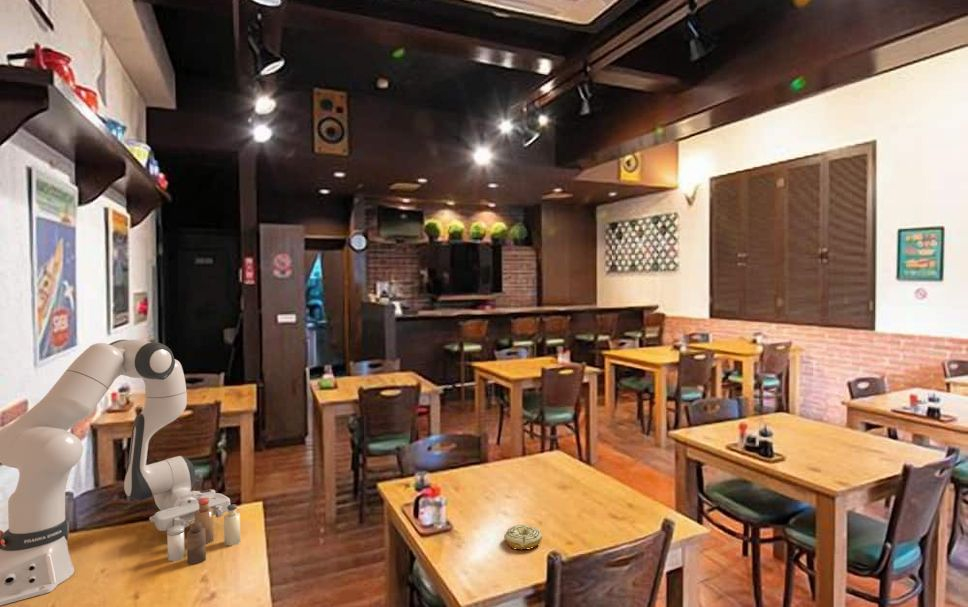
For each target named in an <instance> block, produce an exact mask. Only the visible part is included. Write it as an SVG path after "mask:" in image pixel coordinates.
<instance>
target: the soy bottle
mask: <svg viewBox="0 0 968 607" xmlns="http://www.w3.org/2000/svg"><path fill="white" fill-rule="evenodd" d="M208 503H209V498H201V499H199V500H198V504H199V509H198V510H196V511H195V521H194V522H200V523H201V524H202V528H205V536H206V545H209V544H211V543H212V541H213V542H214V539H215V537H214V535H215V534H214V533H215V532H214V516H213V508H209V504H208ZM210 542H211V543H210ZM208 543H209V544H208Z"/></svg>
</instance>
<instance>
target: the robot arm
mask: <svg viewBox="0 0 968 607" xmlns="http://www.w3.org/2000/svg"><path fill="white" fill-rule="evenodd" d="M120 376H126V377H130V378H135V379H142V380H143V382H144V386H145V387H144V391H145V402H144V405H143V408H142V410H141V412H140V413H139V414H138V415H136V416H135V418H134V421H133V425H132V428H131V436H130V444H129V445H130V446H129V454H128V461H127V468H126V472H125V477H124V484H123V488H124V492H125V495H126V497H127V498H129V499H131V500H133V501H137V502H143V501H146V500H149V499H150V498H153V499H154V503H155V505H156V506H157V508H158V509H159V510H158V511H157V512H156V513H154V514H153V515H152V516H150V517H149V522H151V523H154V527H155V528H156V529H157V531H160V532H164V531H167V529H168V528H170V527H173V526H178V525H182V526H184V529H185V528H188V527H189V528H190V523H194V522H195V511H196V510H198V509H199V504H198V500H199V499H201V498H209V503H208V504H209V508H213V517H214V516H215V517H216V518H218V519H219V518H221V517H224V513H226V512H228V509H227V506H228V505H231V499H230V497H228V496H226V495H224V494H223V493H219V492H218V493H217V492H216V490H215V489H205V490H193V487H194V485H195V483H196V471H195V467H194V464H193V463H192V462H191V461H190V460H189V459H188V458H186V457H185V456H183V455H178V456H174V457H170V458H166V459H164V460H161V461H158V462H152V463H150V464H147V458H148V449H149V442H150V440H151V438H152V437H153V436H154V434H156V433H157V432H159V431H160V430H161V429H162V428H164V427H166V426H168V424H171V423H173V422H174V421H175V420H176V419H178V418H180V416H181V415H182V414H183V413H184V411H185V410H186V408H187V403H188V394H187V385H186V384H187V383H186V379H185V378H186V377H185V373H184V369H183V366H182V364H181V362H180V361H179V360H177V359H175V357H174V354H173V352H172V350H171V348H169V347H168V346H167V345H166V344H164V343H160V342H156V341H148V340H143V339H119V340H115V341H112V342H111V343H102V342H98V343H94V344H93V343H92V345H90V346H88V347H87V348H86V349H85V350H84V351H83V352H81V354H80V355H79V356H78V357H76V359H74V361H73V362H72V363H71V364H70V365H69V366H68V367H67V369H66V370H65V372H63V374H62V375H61V376H60V377H59V379H58V380H57V381H56V383H54V385H53V386H52V387H51V389H50V390H49V391H48V392H47V393H46V394H45V396H44V397H43V398H42V399H40V400H39V402H37V403H36V404H34V405H33V407H31V408H30V409H29V410H28V411H27V412H26V413H25V414H24V415H22V416H21V417H20V418H19V419H17V420H16V421H14V422H12V424H9V425H7V426H6V427H4V428H1V429H0V463H1V464H2V465H3V466H6V467H9V468H13V469H18V472H19V475H18V482H17V485H16V488H15V491H14V492H13V493H11V495H10V496H9V498H8V500H7V506H8V507H7V510H8V512H7V513H8V514H7V515H8V517H7V518H8V529H6V530H5V531H3V530H0V606H4V605H7V604H11V603H15V602H19V601H23V600H26V599H30V598H33V597H38V596H41V595H44V594H48V593H50V592H52V591H53V590H54V589H55V588H56V587H57V586H58V585H60V584H61V583H63V582H64V581H66V580H67V579H69V578H70V577H71V576H72V575H73V574H74V573H75V567H74V565H73V562H72V559H71V555H70V552H69V546H68V539H69V521H68V518H67V516H66V489H67V483H68V479H69V476H70V474H71V471H72V469H73V467H74V466H76V465H77V463H78V462H79V461H80V460H81V457H82V455H83V449H84V448H83V446H84V445H83V443H82V441H81V440H80V438H79V437H78V436H76V435H75V434H73V433H72V432H70V431H69V430H70V429H71V428H72V427H73V426H75V425H77V423H79V422H81V421H83V420H85V419H87V418H88V417H89V416H91V414H92V413H93V412H94V410H95V409H96V407H97V406H98V404H100V402H101V400H102V399H103V398H104V396H105V395H106V393H107V392H108V390H109V389H110V388H111V386H112V385H113V384H114V382H115V380H117V378H119V377H120Z"/></svg>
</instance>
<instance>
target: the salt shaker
mask: <svg viewBox="0 0 968 607" xmlns="http://www.w3.org/2000/svg"><path fill="white" fill-rule="evenodd" d="M166 536H167V539H166V540H167V543H166V544H167V561H169V562H176V561H180V560H182V559H184V558H185V528H184V526H182V525H178V526H173V527H170V528H168V529H167V530H166Z"/></svg>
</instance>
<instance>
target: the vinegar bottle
mask: <svg viewBox="0 0 968 607" xmlns="http://www.w3.org/2000/svg"><path fill="white" fill-rule="evenodd" d="M237 507H238V506H237V504H235V503H232V504H231V503H230V505H228V506H227V509H228V511H227V512H228V513H227V514H225V515H223V522H224V523H223V531H224V532H223V533H224V534H223V535H224V537H223V538H224V540H223V541H224V546H226V545H228V546H227V547H232V546H231V545H234V546H236V545H235V544H237V545H239V544H240V543H241V513H239V512H237ZM239 542H240V543H239ZM238 543H239V544H238Z"/></svg>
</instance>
